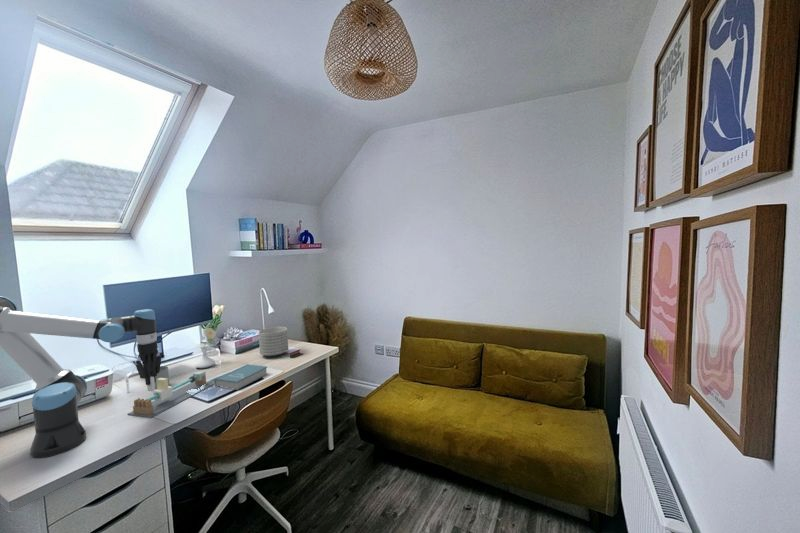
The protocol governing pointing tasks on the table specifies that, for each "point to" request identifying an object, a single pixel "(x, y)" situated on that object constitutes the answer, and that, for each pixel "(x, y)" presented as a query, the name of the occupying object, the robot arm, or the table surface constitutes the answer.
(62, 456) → the table surface
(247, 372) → the book
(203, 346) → the flower in vase
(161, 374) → the cup
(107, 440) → the table surface
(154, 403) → the cord rig
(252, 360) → the table surface
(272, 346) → the planter
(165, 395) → the sliding rod collar
